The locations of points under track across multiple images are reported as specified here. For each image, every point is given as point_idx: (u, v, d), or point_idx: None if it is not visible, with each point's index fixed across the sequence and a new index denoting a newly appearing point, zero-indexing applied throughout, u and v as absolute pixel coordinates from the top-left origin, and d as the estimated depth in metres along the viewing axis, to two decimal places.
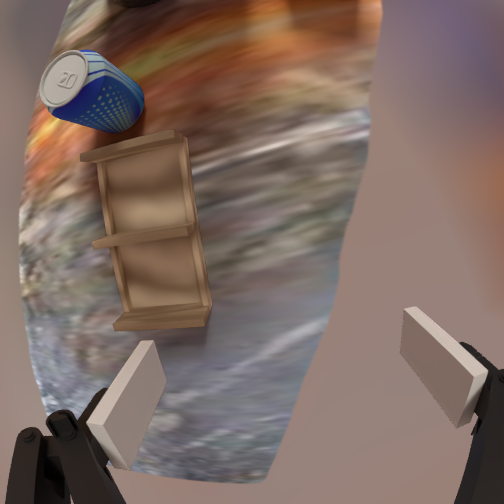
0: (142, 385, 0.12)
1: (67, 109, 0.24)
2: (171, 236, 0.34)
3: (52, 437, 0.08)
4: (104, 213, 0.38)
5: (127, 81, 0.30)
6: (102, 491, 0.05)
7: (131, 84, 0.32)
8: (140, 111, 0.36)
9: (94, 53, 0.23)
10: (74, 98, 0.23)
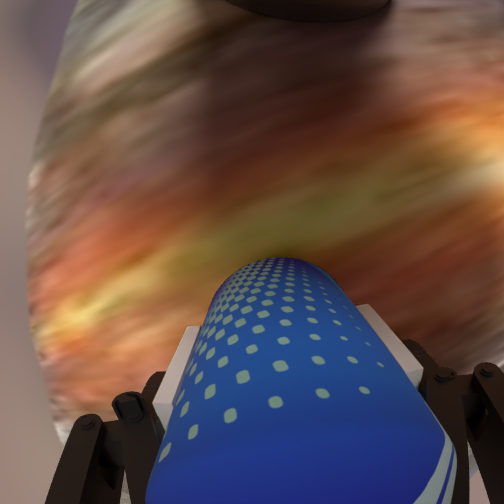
0: None
1: None
2: None
3: (111, 422, 0.09)
4: None
5: None
6: None
7: None
8: None
9: (447, 457, 0.04)
10: None
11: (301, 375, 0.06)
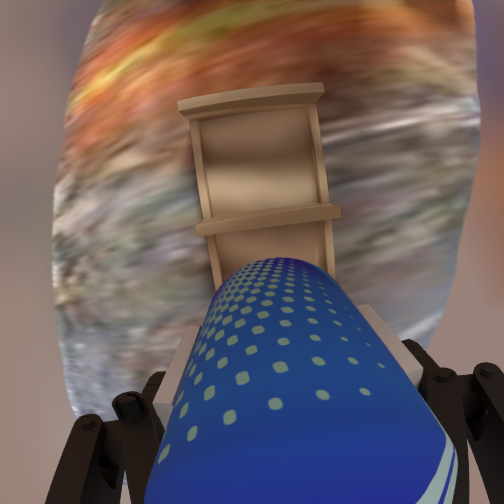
0: None
1: None
2: (320, 218, 0.26)
3: (111, 422, 0.09)
4: (200, 188, 0.30)
5: None
6: None
7: None
8: None
9: (448, 459, 0.04)
10: None
11: (300, 376, 0.06)
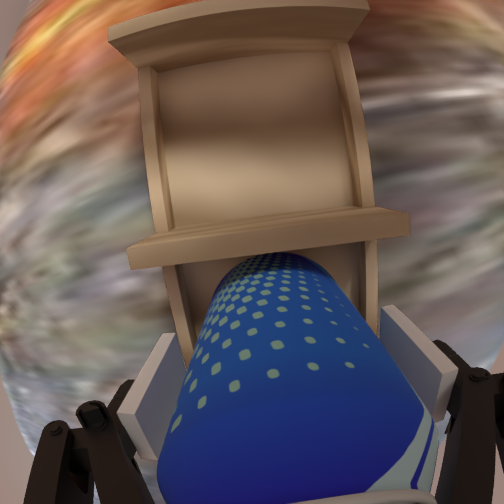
0: (167, 376, 0.13)
1: None
2: (372, 236, 0.13)
3: (79, 429, 0.08)
4: (151, 179, 0.17)
5: None
6: (129, 484, 0.06)
7: None
8: None
9: (426, 428, 0.05)
10: None
11: (294, 352, 0.07)
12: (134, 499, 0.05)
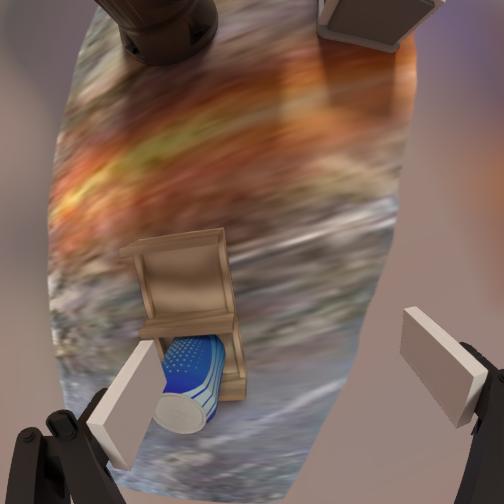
0: (142, 385, 0.12)
1: None
2: (217, 332, 0.38)
3: (52, 437, 0.08)
4: (144, 298, 0.42)
5: (219, 365, 0.38)
6: (102, 491, 0.05)
7: (220, 361, 0.39)
8: None
9: (200, 388, 0.30)
10: (195, 429, 0.30)
11: (176, 367, 0.32)
12: None
